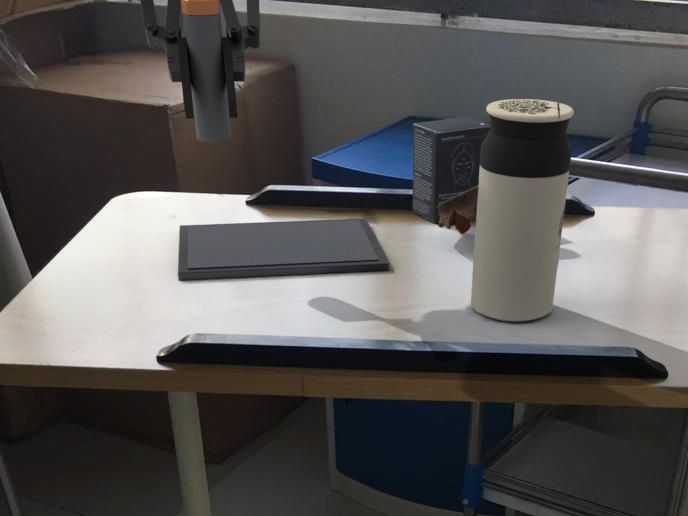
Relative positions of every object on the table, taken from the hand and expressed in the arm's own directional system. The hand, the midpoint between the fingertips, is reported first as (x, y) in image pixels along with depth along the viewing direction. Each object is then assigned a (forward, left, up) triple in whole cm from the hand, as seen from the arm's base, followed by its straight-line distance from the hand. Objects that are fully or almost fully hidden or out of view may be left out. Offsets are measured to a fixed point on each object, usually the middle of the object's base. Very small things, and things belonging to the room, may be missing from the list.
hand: (210, 108), depth 84 cm
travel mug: (+27, -14, -16) cm, 34 cm away
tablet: (+6, +6, -16) cm, 18 cm away
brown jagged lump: (+30, +5, -16) cm, 34 cm away
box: (+28, +17, -16) cm, 37 cm away
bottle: (0, +4, -3) cm, 5 cm away
